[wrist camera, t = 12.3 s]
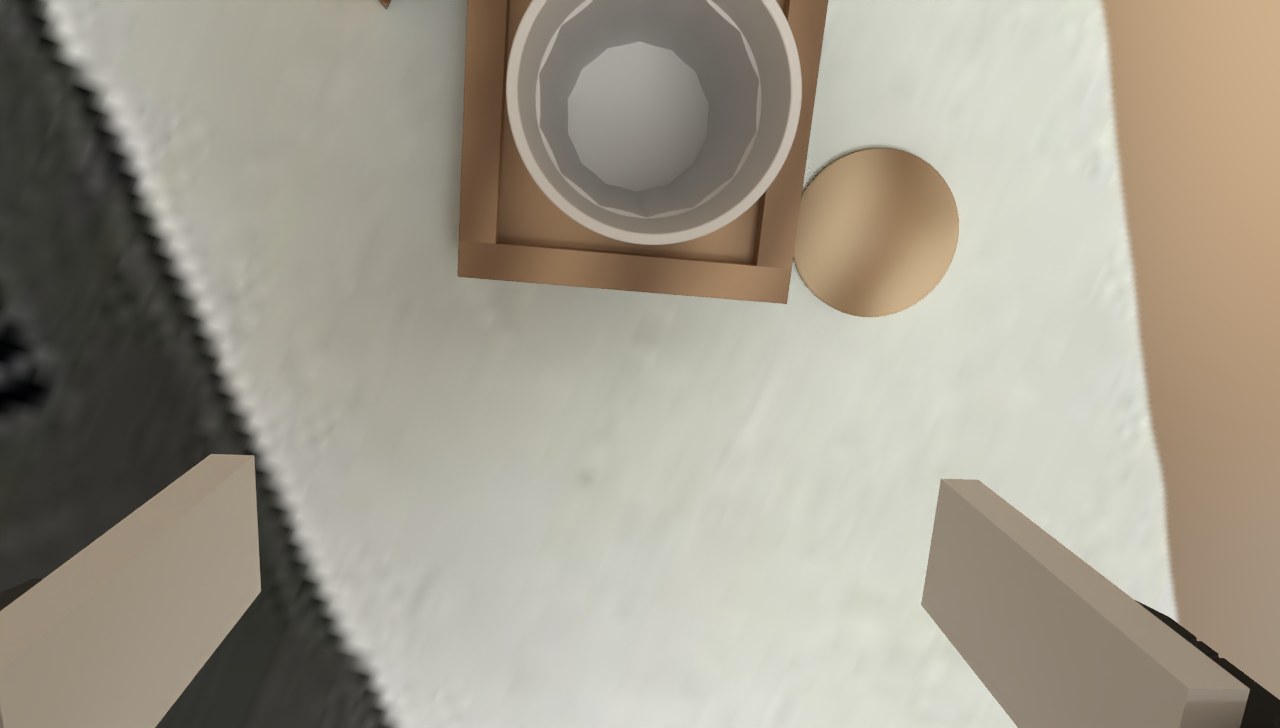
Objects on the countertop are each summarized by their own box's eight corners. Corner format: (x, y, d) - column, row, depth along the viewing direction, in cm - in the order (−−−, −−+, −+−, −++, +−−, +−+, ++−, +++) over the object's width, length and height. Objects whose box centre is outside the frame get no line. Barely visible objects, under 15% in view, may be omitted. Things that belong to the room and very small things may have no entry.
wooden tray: (475, 262, 38) (457, 276, 33) (488, -58, 35) (470, -94, 30) (763, 286, 39) (786, 303, 34) (803, -23, 36) (835, -52, 31)
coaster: (780, 308, 39) (783, 310, 39) (803, 141, 37) (806, 140, 37) (937, 320, 40) (942, 323, 39) (967, 156, 38) (973, 156, 37)
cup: (605, -25, 32) (606, -135, 20) (769, 89, 33) (860, 47, 21) (504, 151, 33) (451, 143, 21) (665, 253, 34) (697, 298, 23)
